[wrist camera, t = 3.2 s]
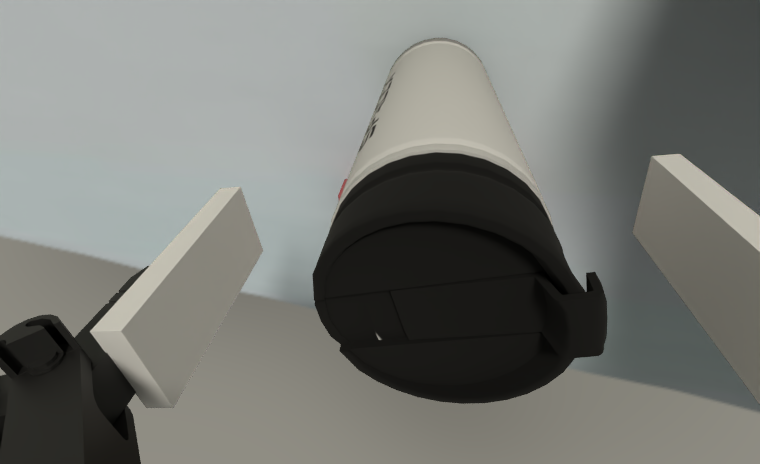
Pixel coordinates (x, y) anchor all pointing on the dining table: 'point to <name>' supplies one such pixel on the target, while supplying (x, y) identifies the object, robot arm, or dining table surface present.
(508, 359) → the travel mug
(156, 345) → the robot arm
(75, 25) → the dining table surface
